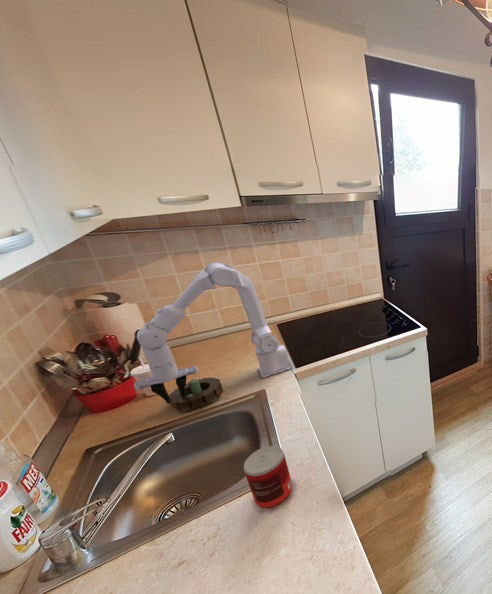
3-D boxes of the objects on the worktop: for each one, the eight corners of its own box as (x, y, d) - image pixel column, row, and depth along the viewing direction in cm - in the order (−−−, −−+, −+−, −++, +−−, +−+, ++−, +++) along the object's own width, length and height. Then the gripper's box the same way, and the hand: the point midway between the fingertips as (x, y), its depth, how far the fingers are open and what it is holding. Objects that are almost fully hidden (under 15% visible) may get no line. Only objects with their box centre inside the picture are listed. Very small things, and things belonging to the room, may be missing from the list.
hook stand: (215, 387, 116) (209, 370, 113) (217, 400, 109) (211, 382, 107) (182, 398, 110) (175, 380, 108) (182, 412, 104) (174, 393, 101)
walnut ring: (220, 379, 118) (218, 373, 117) (224, 397, 108) (221, 390, 107) (172, 395, 110) (169, 388, 109) (171, 415, 100) (168, 408, 99)
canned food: (281, 474, 82) (271, 440, 78) (300, 489, 78) (290, 454, 74) (248, 499, 76) (235, 463, 72) (267, 516, 72) (255, 479, 68)
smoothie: (150, 399, 110) (134, 363, 105) (135, 397, 111) (119, 361, 106) (171, 388, 115) (156, 353, 110) (156, 385, 117) (142, 351, 112)
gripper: (192, 350, 108) (204, 385, 113) (130, 366, 99) (146, 402, 104) (192, 359, 103) (205, 394, 108) (127, 376, 94) (144, 414, 99)
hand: (176, 399), depth 106 cm, fingers closed on walnut ring, 3 cm apart
